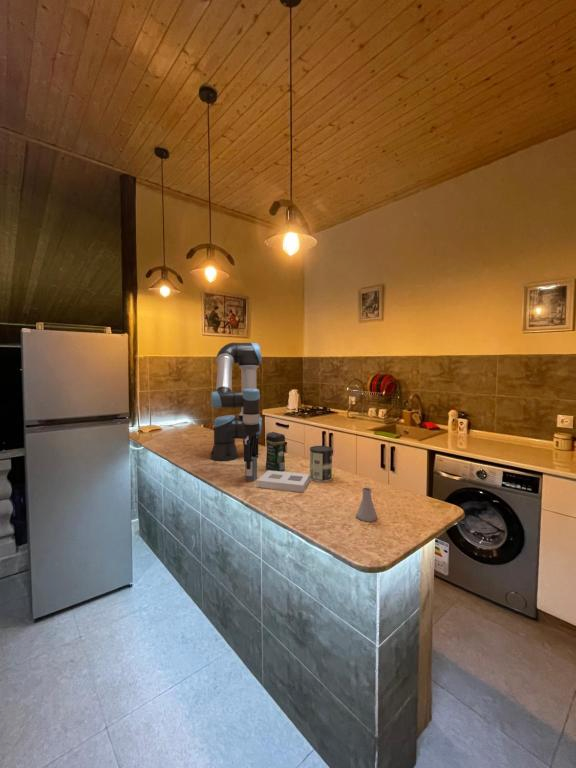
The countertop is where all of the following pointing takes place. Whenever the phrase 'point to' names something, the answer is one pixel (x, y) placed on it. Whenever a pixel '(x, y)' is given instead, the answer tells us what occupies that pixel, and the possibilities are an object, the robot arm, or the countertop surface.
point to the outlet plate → (284, 481)
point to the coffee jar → (275, 451)
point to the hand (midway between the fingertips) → (251, 473)
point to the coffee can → (321, 463)
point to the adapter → (254, 470)
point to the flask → (366, 507)
